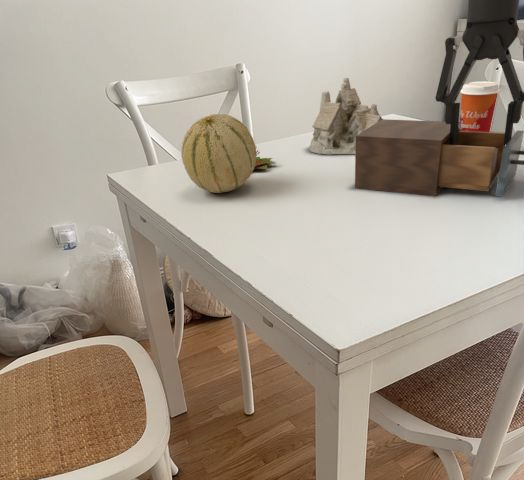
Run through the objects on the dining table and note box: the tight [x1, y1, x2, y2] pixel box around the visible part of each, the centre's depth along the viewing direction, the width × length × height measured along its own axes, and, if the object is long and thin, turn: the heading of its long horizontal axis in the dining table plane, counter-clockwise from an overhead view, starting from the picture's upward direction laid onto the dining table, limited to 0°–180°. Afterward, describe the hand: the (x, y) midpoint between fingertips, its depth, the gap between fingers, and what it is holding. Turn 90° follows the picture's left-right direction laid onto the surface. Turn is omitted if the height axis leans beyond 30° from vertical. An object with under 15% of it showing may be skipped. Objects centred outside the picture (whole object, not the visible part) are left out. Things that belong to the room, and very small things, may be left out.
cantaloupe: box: [180, 113, 257, 194], centre depth 106 cm, size 15×15×15 cm
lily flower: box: [254, 144, 277, 170], centre depth 122 cm, size 12×12×5 cm
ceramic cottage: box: [309, 77, 383, 155], centre depth 126 cm, size 16×16×15 cm
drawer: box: [438, 130, 524, 197], centre depth 97 cm, size 19×13×8 cm, turn 60°
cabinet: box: [354, 118, 461, 197], centre depth 104 cm, size 16×14×10 cm
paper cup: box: [459, 80, 501, 132], centre depth 114 cm, size 8×8×14 cm
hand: (479, 142), depth 96 cm, fingers open, 8 cm apart
